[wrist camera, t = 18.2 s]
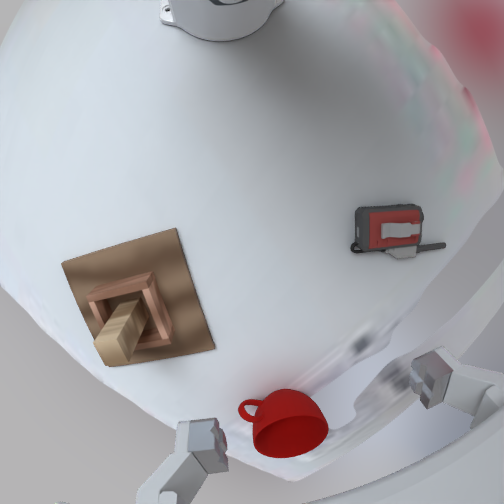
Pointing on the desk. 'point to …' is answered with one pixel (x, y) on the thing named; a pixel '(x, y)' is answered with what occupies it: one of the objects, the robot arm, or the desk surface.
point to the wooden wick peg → (122, 332)
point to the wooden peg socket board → (143, 294)
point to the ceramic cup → (285, 424)
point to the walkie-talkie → (391, 230)
